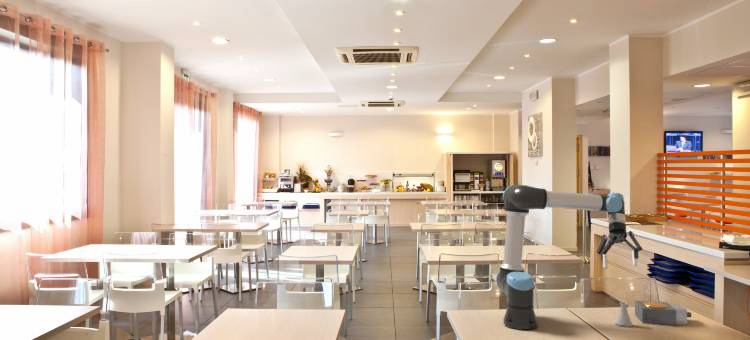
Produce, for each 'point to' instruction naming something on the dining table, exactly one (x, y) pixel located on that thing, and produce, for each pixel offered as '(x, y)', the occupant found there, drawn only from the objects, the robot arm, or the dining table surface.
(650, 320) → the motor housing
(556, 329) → the dining table surface
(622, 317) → the flask
